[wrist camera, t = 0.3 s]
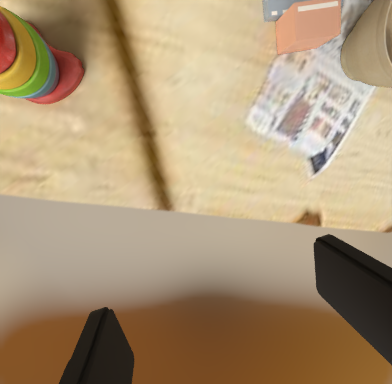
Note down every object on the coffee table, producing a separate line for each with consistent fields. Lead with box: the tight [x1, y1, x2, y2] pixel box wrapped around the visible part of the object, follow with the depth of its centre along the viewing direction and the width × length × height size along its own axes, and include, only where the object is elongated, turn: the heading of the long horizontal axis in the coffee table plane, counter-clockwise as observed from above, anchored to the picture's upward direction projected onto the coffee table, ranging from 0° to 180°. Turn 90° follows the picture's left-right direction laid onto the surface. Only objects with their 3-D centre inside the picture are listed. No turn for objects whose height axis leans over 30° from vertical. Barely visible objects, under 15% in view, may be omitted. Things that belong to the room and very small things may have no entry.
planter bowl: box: [341, 0, 392, 87], centre depth 33 cm, size 16×16×11 cm
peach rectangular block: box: [276, 0, 341, 55], centre depth 33 cm, size 5×8×5 cm, turn 101°
